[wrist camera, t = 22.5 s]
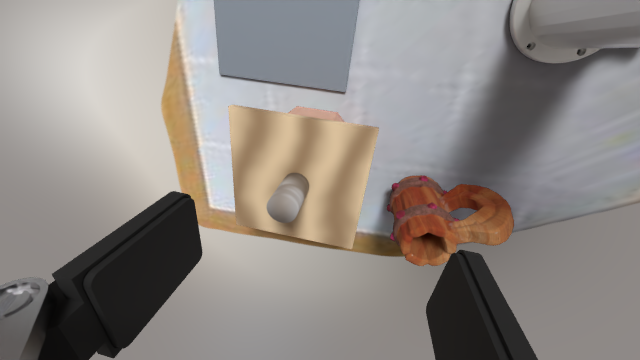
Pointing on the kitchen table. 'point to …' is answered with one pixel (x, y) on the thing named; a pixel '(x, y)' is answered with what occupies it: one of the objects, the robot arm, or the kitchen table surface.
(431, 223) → the mug
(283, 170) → the lid
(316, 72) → the mat
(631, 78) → the kitchen table surface
